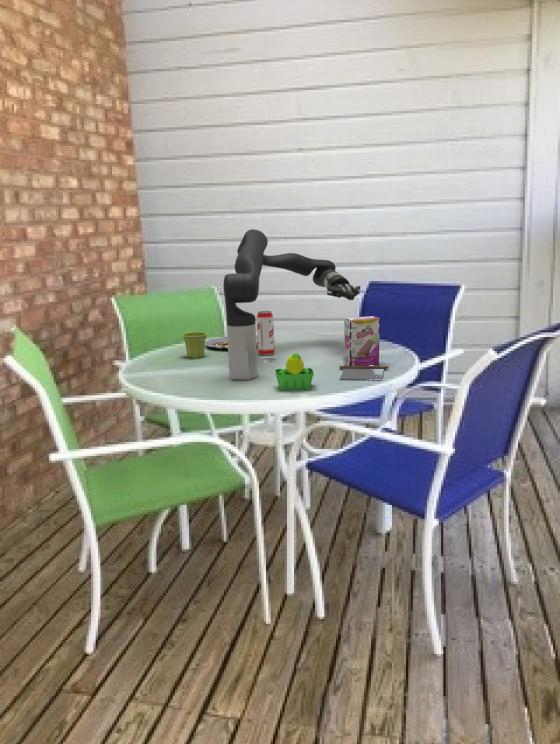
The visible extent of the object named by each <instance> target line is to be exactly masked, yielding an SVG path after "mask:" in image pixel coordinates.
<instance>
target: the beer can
mask: <svg viewBox="0 0 560 744" xmlns="http://www.w3.org/2000/svg"><path fill="white" fill-rule="evenodd" d="M256 336H257V339H258V345H257V354H259V355H260V356H263V355H267V356H273V355H274V354H275V327H274V314H273V313H272V310H271V311H270V310H261V311H258V312H257V315H256Z"/></svg>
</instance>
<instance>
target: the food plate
mask: <svg viewBox="0 0 560 744" xmlns="http://www.w3.org/2000/svg"><path fill="white" fill-rule="evenodd" d="M224 342H225V343H224ZM216 344H218V345H216ZM256 344H257V346H258V339H257V335H256ZM215 345H216V346H215ZM225 345H226V346H225ZM205 346H207V347H213V348H215V349H218V350H219V349H220V350H222V349H223V348H225V349H226V350H228V339H227V336H221V337H216V338H211V339H209V340H205Z"/></svg>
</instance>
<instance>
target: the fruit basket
mask: <svg viewBox="0 0 560 744" xmlns="http://www.w3.org/2000/svg"><path fill="white" fill-rule="evenodd" d="M304 365H305V363H304V360H303V359H302V356H301V355H300V354H299V353H297V352H293V353H292V354H290V355H289V356H288V358H287V360H286V362H285V368H276V369H275V370H274V373H275V374H274V375H275V378H276V379H277V383H278V386H279V388H278V389H279V390H280V391H291V390H292V391H293V390H298V391H299V390H310V389H311V386H312V381H313V378H314V375H315V373H314V372H315V371H314V369H313V368H311V367H305V366H304Z"/></svg>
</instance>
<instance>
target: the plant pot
mask: <svg viewBox="0 0 560 744" xmlns="http://www.w3.org/2000/svg"><path fill="white" fill-rule="evenodd" d="M181 336H182V337H183V340H184V345H185V349H186V355H187V358H189V359H190V358H192V359H200V358H202V357H203V356H204V357H205V348H206V347H205V346H206V344H205V342H206V339H207V336H208V333H207V332H205V331H192V332H191V331H190V332H185V333H182V334H181Z"/></svg>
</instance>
